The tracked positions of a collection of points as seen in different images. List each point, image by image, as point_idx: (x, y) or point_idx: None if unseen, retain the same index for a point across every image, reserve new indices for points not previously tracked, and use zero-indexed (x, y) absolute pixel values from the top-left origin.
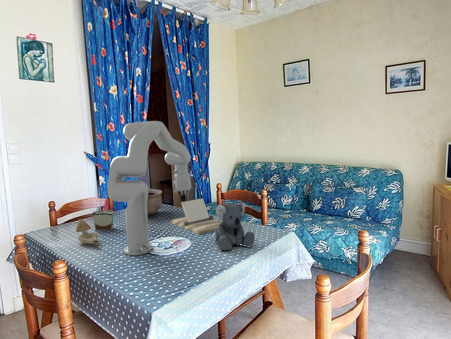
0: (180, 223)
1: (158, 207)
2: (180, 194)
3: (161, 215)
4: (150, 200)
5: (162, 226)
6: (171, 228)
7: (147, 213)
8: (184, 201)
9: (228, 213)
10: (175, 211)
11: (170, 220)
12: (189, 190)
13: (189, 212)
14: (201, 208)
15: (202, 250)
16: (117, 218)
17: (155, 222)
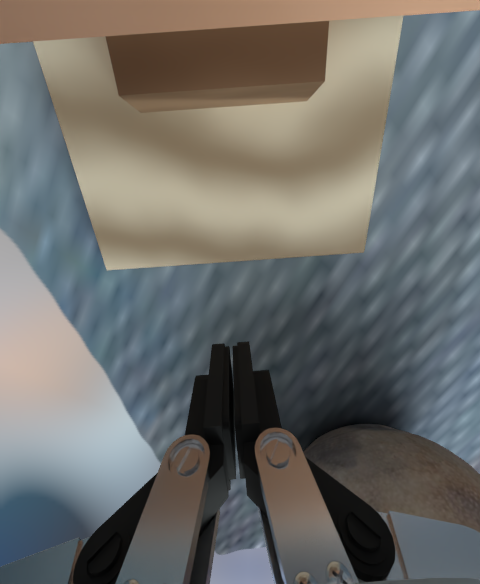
0: (379, 82)
1: (332, 452)
2: (304, 463)
3: (300, 403)
4: (449, 517)
5: (452, 193)
6: (457, 81)
7: (386, 427)
8: (224, 345)
9: None
10: None
11: (362, 248)
12: (17, 567)
13: None
14: None
15: None
16: (463, 457)
17: (411, 309)
